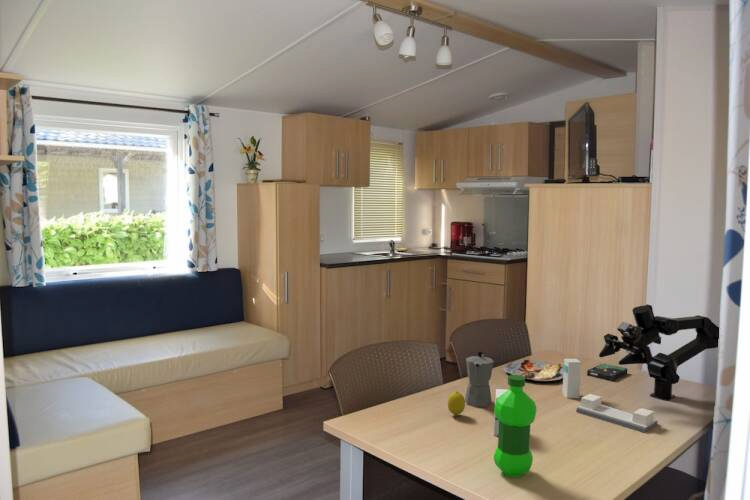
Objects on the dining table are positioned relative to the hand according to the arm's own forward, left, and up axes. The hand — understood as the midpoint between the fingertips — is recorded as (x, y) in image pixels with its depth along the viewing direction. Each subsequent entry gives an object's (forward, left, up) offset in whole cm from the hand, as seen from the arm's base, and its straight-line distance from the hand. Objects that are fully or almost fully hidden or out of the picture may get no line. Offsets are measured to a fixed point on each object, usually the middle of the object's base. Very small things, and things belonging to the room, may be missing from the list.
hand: (609, 359), depth 198 cm
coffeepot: (+32, -30, -16) cm, 47 cm away
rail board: (+10, +8, -16) cm, 20 cm away
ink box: (+47, -10, -16) cm, 50 cm away
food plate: (-11, -34, -16) cm, 40 cm away
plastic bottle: (+67, +7, -16) cm, 69 cm away
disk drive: (-33, -15, -16) cm, 40 cm away
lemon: (+48, -27, -16) cm, 57 cm away
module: (+2, -12, -16) cm, 20 cm away
